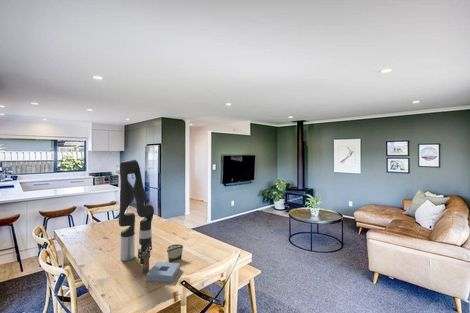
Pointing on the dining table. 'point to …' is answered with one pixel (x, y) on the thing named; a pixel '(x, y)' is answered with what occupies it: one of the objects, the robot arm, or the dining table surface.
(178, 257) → the food container
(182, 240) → the dining table surface
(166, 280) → the socket block
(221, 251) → the dining table surface
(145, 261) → the walnut peg
